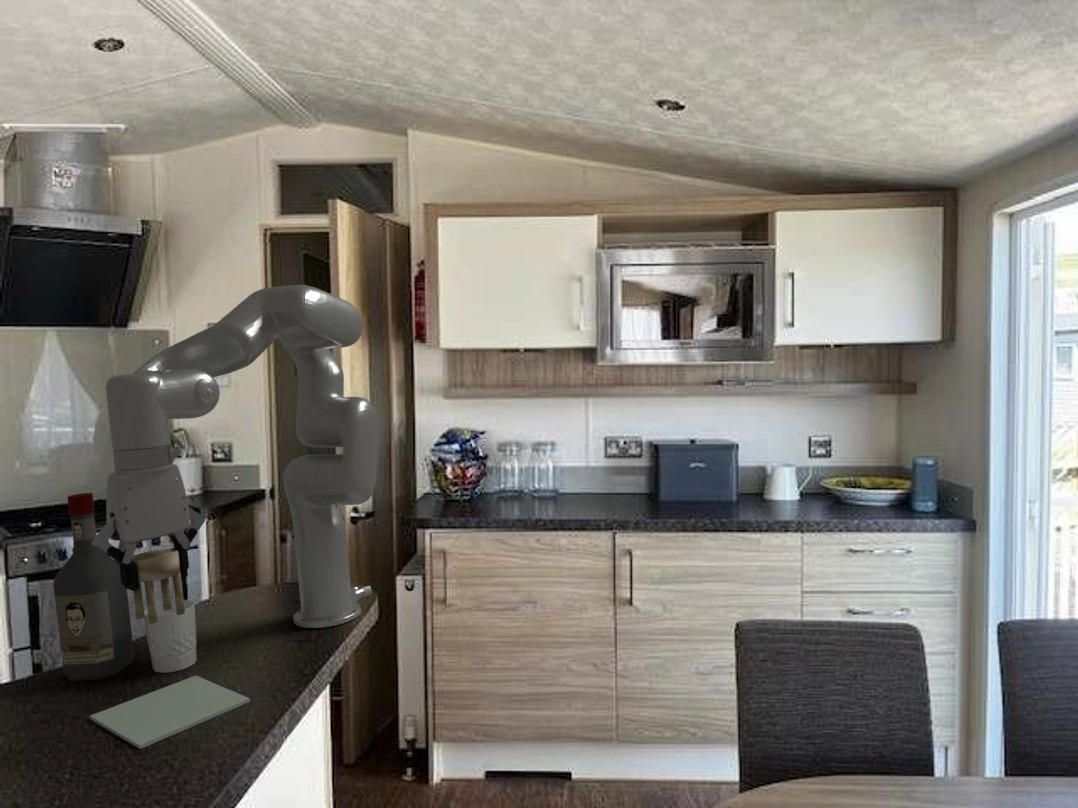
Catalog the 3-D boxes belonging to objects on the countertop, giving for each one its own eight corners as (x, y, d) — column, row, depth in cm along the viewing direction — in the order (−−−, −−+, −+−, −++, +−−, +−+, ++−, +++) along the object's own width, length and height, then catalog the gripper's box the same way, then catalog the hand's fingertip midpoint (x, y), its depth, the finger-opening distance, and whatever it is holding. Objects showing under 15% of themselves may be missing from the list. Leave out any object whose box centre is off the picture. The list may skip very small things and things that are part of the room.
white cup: (180, 675, 130) (174, 615, 129) (138, 674, 131) (132, 615, 130) (210, 656, 137) (204, 599, 136) (169, 655, 139) (163, 599, 138)
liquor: (91, 660, 139) (71, 491, 137) (141, 657, 139) (122, 488, 136) (56, 682, 130) (34, 502, 128) (110, 680, 130) (89, 499, 127)
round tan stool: (171, 605, 120) (165, 547, 119) (192, 612, 116) (186, 552, 115) (128, 618, 115) (121, 558, 114) (148, 626, 111) (141, 563, 110)
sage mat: (196, 678, 128) (195, 675, 128) (250, 701, 118) (249, 698, 118) (90, 719, 115) (89, 715, 115) (140, 749, 105) (139, 745, 105)
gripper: (189, 450, 123) (201, 563, 124) (67, 468, 109) (82, 595, 111) (214, 451, 118) (226, 569, 119) (90, 471, 105) (105, 604, 106)
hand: (156, 581), depth 115 cm, fingers closed on round tan stool, 6 cm apart
